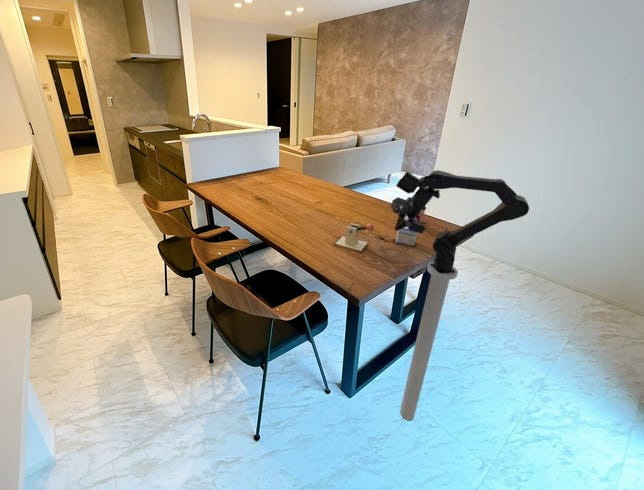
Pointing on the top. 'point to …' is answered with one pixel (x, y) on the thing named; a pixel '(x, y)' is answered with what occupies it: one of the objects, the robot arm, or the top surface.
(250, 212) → the top surface
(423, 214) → the soda can
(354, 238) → the switch bracket
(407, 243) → the medicine box
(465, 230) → the robot arm
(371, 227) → the switch lever
